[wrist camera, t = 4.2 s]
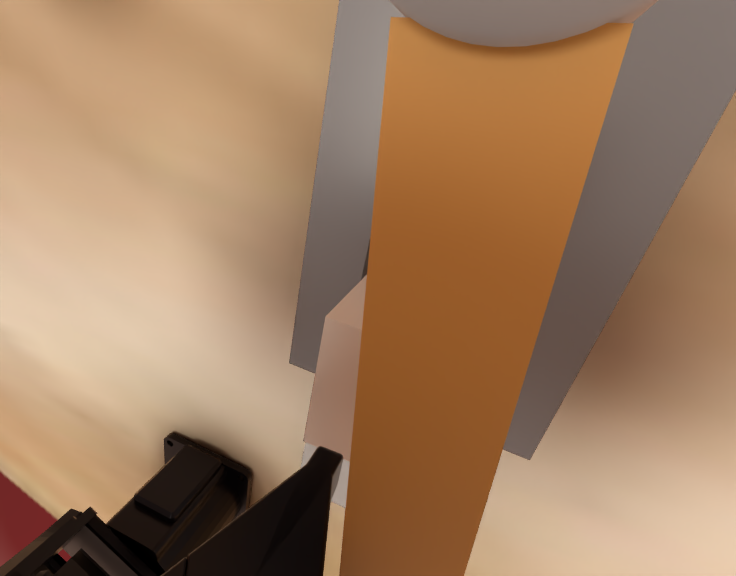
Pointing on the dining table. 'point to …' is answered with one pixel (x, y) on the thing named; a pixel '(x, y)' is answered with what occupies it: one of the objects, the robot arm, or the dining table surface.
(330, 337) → the plug
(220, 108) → the dining table surface
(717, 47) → the socket block
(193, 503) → the robot arm
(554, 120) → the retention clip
